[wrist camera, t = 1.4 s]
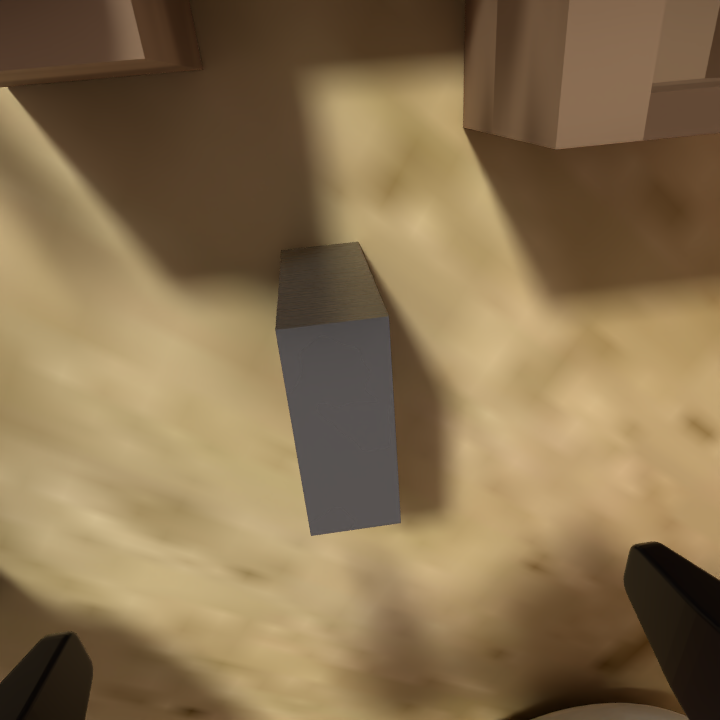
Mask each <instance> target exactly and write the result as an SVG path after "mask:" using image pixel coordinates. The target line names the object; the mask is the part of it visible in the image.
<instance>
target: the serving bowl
mask: <svg viewBox="0 0 720 720" xmlns="http://www.w3.org/2000/svg"><path fill="white" fill-rule="evenodd" d="M531 720H689V719H688V717H687V716H685V715H682V714H680V713H677V712H674V711H671V710H667V709H663V708H659V707H655V706H649V705H643V704H633V703H602V704H591V705H584V706H578V707H572V708H567V709H563V710H560V711H556V712H552V713H548V714H545V715H543V716H540V717H537V718H534V719H531Z"/></svg>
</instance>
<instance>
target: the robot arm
mask: <svg viewBox="0 0 720 720" xmlns="http://www.w3.org/2000/svg"><path fill="white" fill-rule="evenodd" d="M624 587H625V590H626V593H627V595H628V597H629V599H630V602H631V604H632V606H633V608H634V610H635V612H636V614H637V617H638V619H639V621H640V623H641V625H642V627H643V630H644V632H645V634H646V636H647V638H648V640H649V643H650V645H651V647H652V649H653V651H654V653H655V656H656V658H657V660H658V662H659V664H660V666H661V669H662V671H663V673H664V675H665V677H666V679H667V681H668V683H669V685H670V687H671V689H672V691H673V692H674V694H675V696H676V698H677V700H678V702H679V703H680V705H681V707H682V709H683V710H684V712H685V714H686V715H687V717H688V719H689V720H720V580H718V579H717V578H715V577H714V576H712V575H711V574H709V573H707V572H706V571H704V570H703V569H701V568H700V567H698V566H696V565H695V564H693V563H692V562H690V561H688V560H687V559H685V558H684V557H682V556H681V555H679V554H677V553H676V552H674V551H673V550H671V549H670V548H668V547H666V546H665V545H663V544H661V543H659V542H646V543H639V544H635V545H633V546H632V547H631V548H630V551H629V555H628V560H627V564H626V568H625V572H624ZM92 678H93V665H92V662H91V659H90V657H89V655H88V654H87V652H86V650H85V648H84V646H83V644H82V642H81V641H80V639H79V637H78V635H77V634H76V633H74V632H72V631H68V632H61V633H55V634H50V635H47V636H45V637H44V638H42V639H41V640H40V641H39V642H38V643H37V644H36V645H35V646H34V647H33V648H32V650H31V651H30V652H29V653H28V654H27V655H26V656H25V657H24V658H23V659H22V660H21V661H20V663H19V664H18V665H17V666H16V667H15V668H14V669H13V670H12V671H11V672H10V673H9V674H8V676H7V677H6V678H5V679H4V680H3V681H2V682H1V683H0V720H85V717H86V711H87V706H88V701H89V695H90V690H91V684H92Z"/></svg>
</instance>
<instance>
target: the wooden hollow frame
mask: <svg viewBox="0 0 720 720" xmlns="http://www.w3.org/2000/svg"><path fill="white" fill-rule="evenodd" d="M193 70H203V67H202V62H201V57H200V52H199V47H198V42H197V37H196V32H195V27H194V21H193V16H192V11H191V6H190V1H189V0H0V87H11V86H22V85H33V84H45V83H56V82H68V81H79V80H90V79H102V78H113V77H125V76H136V75H147V74H159V73H170V72H182V71H193ZM463 127H464V128H468V129H472V130H476V131H480V132H485V133H489V134H493V135H497V136H501V137H506V138H510V139H514V140H518V141H522V142H527V143H531V144H535V145H539V146H543V147H547V148H552V149H565V148H575V147H585V146H595V145H604V144H614V143H624V142H634V141H644V140H654V139H664V138H674V137H684V136H693V135H703V134H713V133H720V0H465V36H464V109H463Z"/></svg>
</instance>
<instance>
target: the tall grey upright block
mask: <svg viewBox="0 0 720 720" xmlns="http://www.w3.org/2000/svg"><path fill="white" fill-rule="evenodd" d="M275 331H276V336H277V342H278V348H279V354H280V360H281V365H282V371H283V377H284V383H285V388H286V394H287V400H288V406H289V411H290V417H291V423H292V429H293V434H294V440H295V446H296V452H297V458H298V463H299V469H300V475H301V481H302V486H303V492H304V498H305V504H306V509H307V515H308V521H309V527H310V533H311V536H314V535H321V534H328V533H335V532H341V531H348V530H355V529H362V528H369V527H376V526H383V525H390V524H397V523H401V517H400V499H399V482H398V465H397V448H396V430H395V413H394V396H393V378H392V361H391V344H390V326H389V315H388V313H387V310H386V308H385V306H384V303H383V301H382V298H381V296H380V294H379V291H378V289H377V286H376V284H375V281H374V279H373V277H372V274H371V272H370V269H369V267H368V264H367V262H366V260H365V257H364V255H363V252H362V250H361V247H360V245H359V243H358V242H352V243H343V244H334V245H325V246H316V247H307V248H298V249H289V250H281V263H280V276H279V289H278V302H277V315H276V328H275Z"/></svg>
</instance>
